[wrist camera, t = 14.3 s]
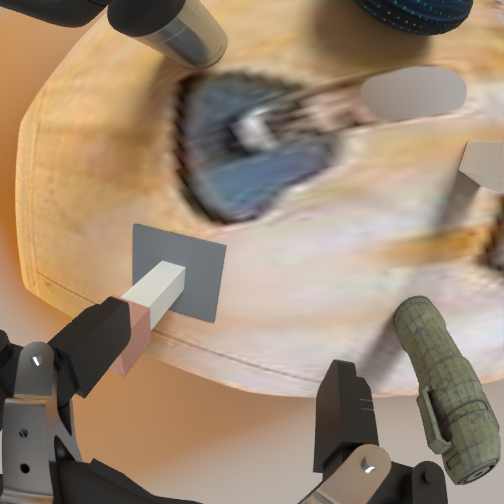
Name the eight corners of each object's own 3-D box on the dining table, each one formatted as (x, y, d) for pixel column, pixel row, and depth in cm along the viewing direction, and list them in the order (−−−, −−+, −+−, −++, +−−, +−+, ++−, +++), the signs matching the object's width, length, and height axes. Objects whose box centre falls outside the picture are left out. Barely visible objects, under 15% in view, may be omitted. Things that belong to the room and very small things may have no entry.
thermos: (390, 294, 46) (457, 470, 14) (444, 294, 44) (531, 439, 12) (381, 334, 49) (419, 502, 17) (432, 332, 47) (492, 477, 15)
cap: (116, 328, 39) (87, 359, 31) (113, 294, 36) (79, 324, 29) (150, 341, 38) (124, 376, 31) (150, 307, 36) (119, 342, 28)
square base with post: (135, 295, 56) (85, 344, 39) (135, 223, 50) (72, 258, 33) (214, 320, 54) (182, 384, 38) (226, 245, 48) (186, 297, 32)
